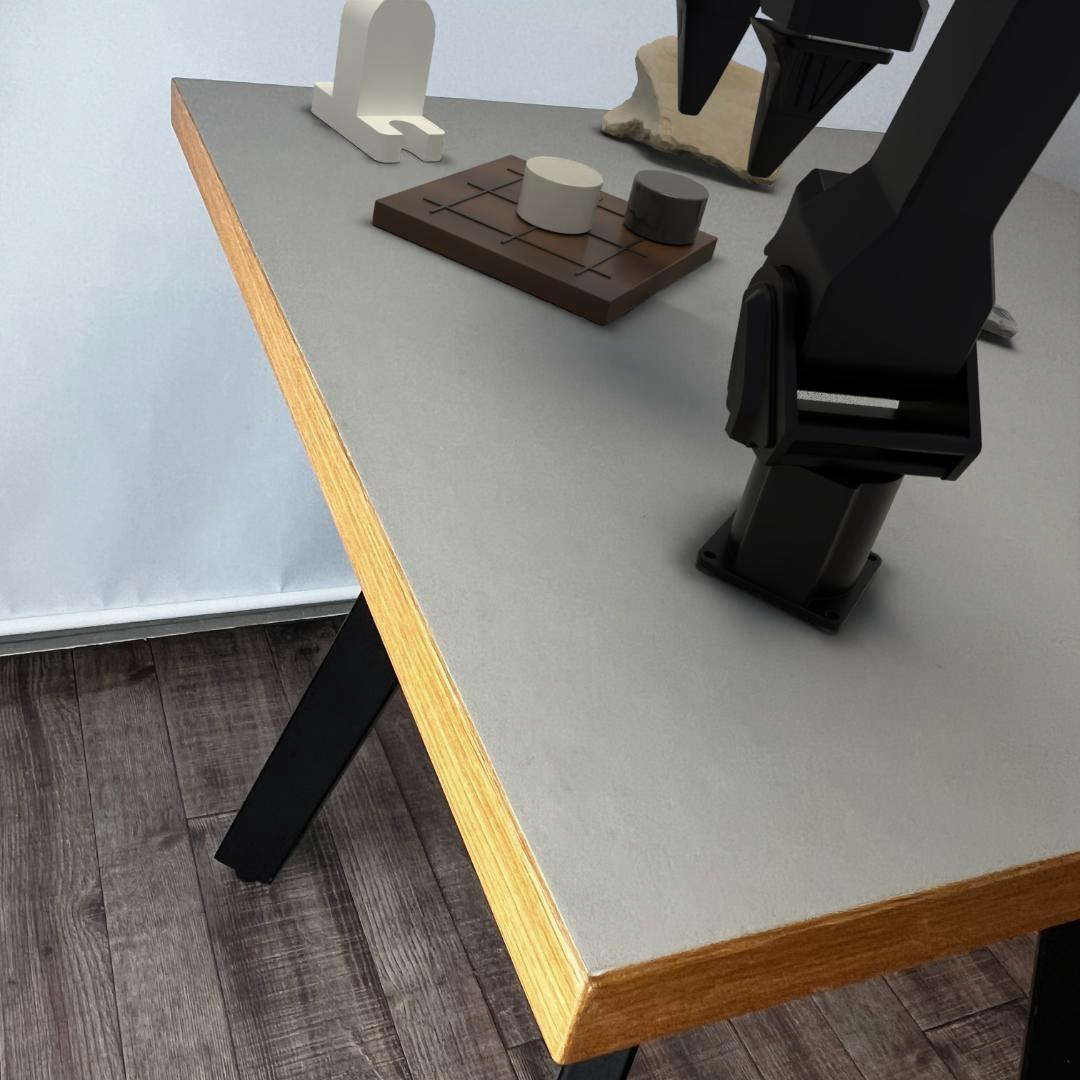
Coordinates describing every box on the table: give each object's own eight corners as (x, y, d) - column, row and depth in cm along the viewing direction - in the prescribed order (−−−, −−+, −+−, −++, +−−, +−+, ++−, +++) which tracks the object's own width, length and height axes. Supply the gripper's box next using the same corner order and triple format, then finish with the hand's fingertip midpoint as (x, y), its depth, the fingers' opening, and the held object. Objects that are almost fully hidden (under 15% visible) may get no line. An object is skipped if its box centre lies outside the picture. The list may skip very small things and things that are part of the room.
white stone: (569, 240, 74) (581, 192, 72) (502, 212, 76) (511, 164, 74) (605, 223, 78) (616, 177, 76) (540, 196, 79) (550, 150, 78)
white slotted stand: (371, 109, 92) (391, -34, 86) (444, 161, 86) (470, 10, 80) (308, 109, 89) (324, -40, 83) (378, 162, 83) (400, 6, 77)
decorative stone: (604, 121, 102) (629, 18, 98) (774, 166, 102) (807, 65, 98) (592, 147, 96) (618, 38, 91) (774, 197, 95) (809, 89, 91)
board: (603, 326, 69) (610, 299, 68) (371, 224, 74) (375, 198, 73) (711, 258, 81) (719, 235, 80) (506, 175, 86) (511, 152, 85)
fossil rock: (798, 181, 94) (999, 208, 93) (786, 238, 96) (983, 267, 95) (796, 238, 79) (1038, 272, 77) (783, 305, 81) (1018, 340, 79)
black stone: (677, 251, 77) (691, 205, 75) (610, 224, 78) (622, 178, 76) (707, 234, 80) (720, 190, 79) (642, 208, 82) (654, 164, 80)
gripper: (587, -273, 58) (520, 66, 67) (744, -232, 44) (634, 194, 52) (794, -221, 62) (706, 95, 70) (1000, -166, 48) (859, 221, 56)
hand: (720, 143), depth 62 cm, fingers open, 9 cm apart
